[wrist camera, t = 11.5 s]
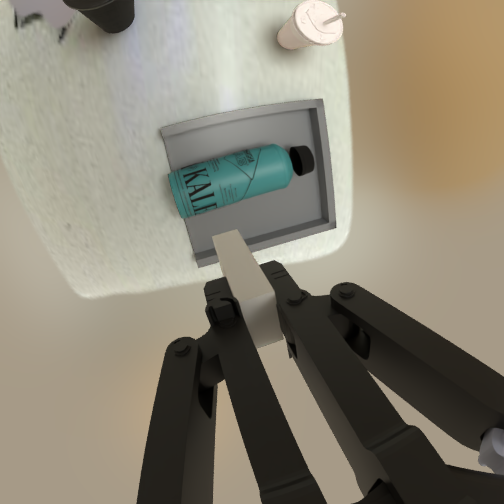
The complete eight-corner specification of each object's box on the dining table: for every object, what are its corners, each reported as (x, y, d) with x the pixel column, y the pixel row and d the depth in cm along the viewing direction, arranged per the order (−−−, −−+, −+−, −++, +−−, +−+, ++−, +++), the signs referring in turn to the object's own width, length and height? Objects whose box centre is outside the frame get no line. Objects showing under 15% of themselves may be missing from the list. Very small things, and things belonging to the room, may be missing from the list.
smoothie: (295, 65, 35) (349, 48, 23) (259, 41, 33) (300, 10, 20) (316, 37, 34) (372, 14, 22) (282, 12, 31) (328, -22, 19)
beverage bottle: (165, 194, 40) (296, 156, 42) (175, 234, 37) (316, 189, 40) (153, 165, 34) (301, 125, 36) (162, 207, 31) (325, 159, 34)
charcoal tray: (161, 127, 35) (160, 128, 32) (313, 99, 38) (322, 98, 36) (196, 258, 44) (198, 267, 42) (327, 221, 48) (336, 227, 45)
